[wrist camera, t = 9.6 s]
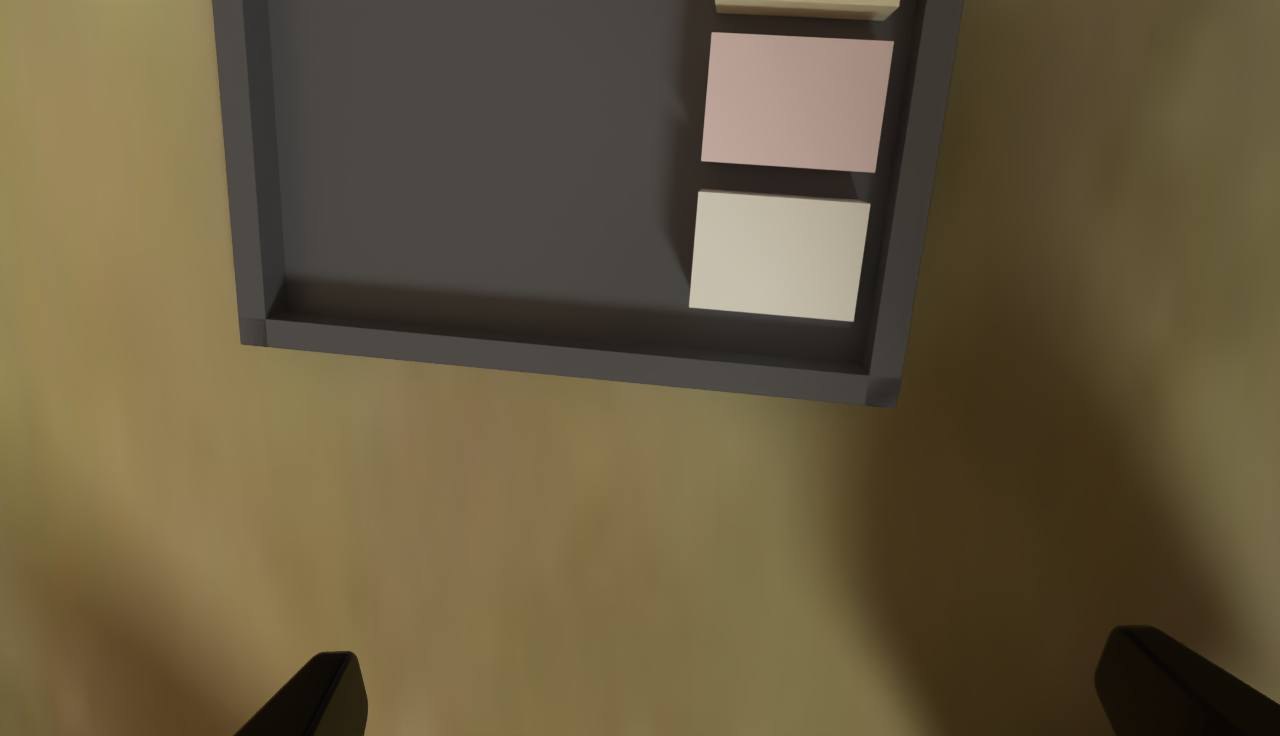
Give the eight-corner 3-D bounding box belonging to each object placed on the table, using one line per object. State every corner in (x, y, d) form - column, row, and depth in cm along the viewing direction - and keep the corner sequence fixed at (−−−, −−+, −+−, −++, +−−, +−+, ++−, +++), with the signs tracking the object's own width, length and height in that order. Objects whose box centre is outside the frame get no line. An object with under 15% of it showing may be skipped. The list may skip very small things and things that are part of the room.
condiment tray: (988, -252, 17) (1024, -310, 15) (885, 391, 21) (901, 417, 19) (230, -261, 19) (165, -314, 17) (271, 332, 23) (224, 350, 21)
